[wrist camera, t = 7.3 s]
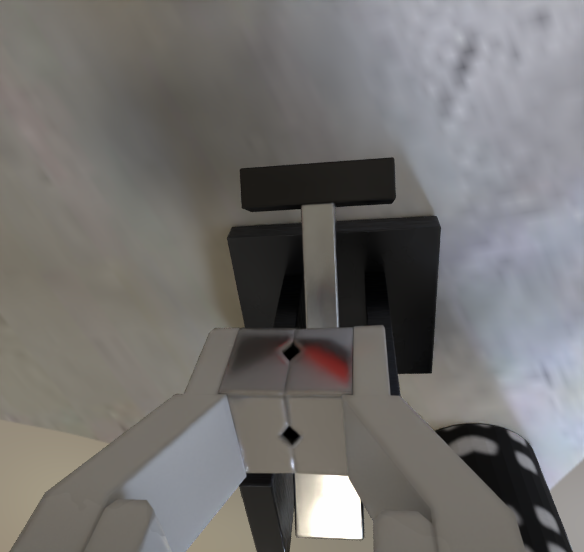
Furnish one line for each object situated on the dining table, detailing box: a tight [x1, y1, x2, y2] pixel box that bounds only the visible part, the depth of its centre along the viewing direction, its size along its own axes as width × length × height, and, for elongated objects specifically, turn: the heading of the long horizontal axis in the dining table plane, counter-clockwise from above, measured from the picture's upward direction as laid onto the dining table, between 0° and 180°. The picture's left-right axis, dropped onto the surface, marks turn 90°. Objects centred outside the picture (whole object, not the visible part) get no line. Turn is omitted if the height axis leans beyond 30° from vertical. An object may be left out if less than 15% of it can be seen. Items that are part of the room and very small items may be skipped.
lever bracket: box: [227, 216, 441, 552], centre depth 20 cm, size 9×10×13 cm
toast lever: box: [240, 157, 396, 540], centre depth 16 cm, size 12×5×2 cm
